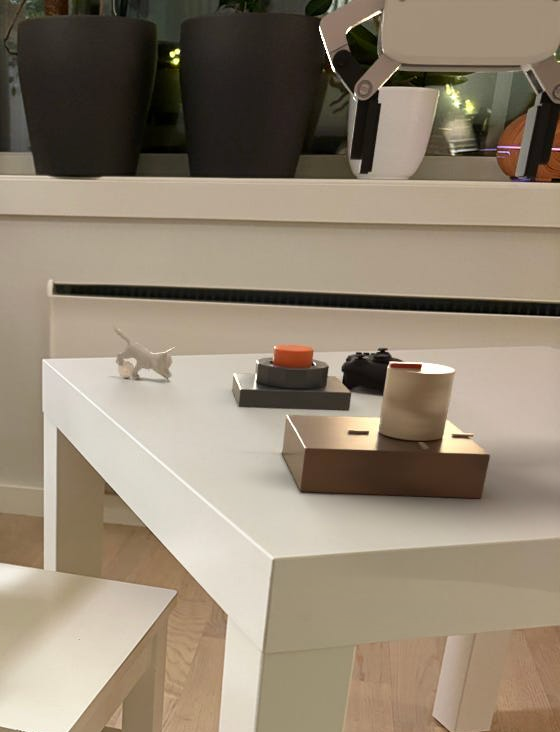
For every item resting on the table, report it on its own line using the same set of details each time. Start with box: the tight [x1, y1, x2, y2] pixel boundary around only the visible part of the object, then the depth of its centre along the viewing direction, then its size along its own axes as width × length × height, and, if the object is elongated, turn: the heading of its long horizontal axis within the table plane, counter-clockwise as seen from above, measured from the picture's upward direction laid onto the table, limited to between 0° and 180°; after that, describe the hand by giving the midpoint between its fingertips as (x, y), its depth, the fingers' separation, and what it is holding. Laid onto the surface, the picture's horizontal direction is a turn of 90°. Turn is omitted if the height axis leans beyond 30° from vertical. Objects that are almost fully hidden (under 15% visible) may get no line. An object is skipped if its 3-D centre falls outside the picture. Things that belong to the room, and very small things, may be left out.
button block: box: [231, 356, 352, 412], centre depth 91 cm, size 10×8×4 cm
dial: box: [378, 361, 456, 441], centre depth 67 cm, size 4×4×5 cm
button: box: [272, 344, 315, 367], centre depth 90 cm, size 4×4×2 cm
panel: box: [281, 414, 491, 499], centre depth 69 cm, size 12×10×3 cm
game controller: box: [341, 347, 406, 392], centre depth 98 cm, size 10×5×7 cm
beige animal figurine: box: [113, 324, 176, 382], centre depth 99 cm, size 3×8×6 cm
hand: (443, 176), depth 61 cm, fingers open, 9 cm apart
